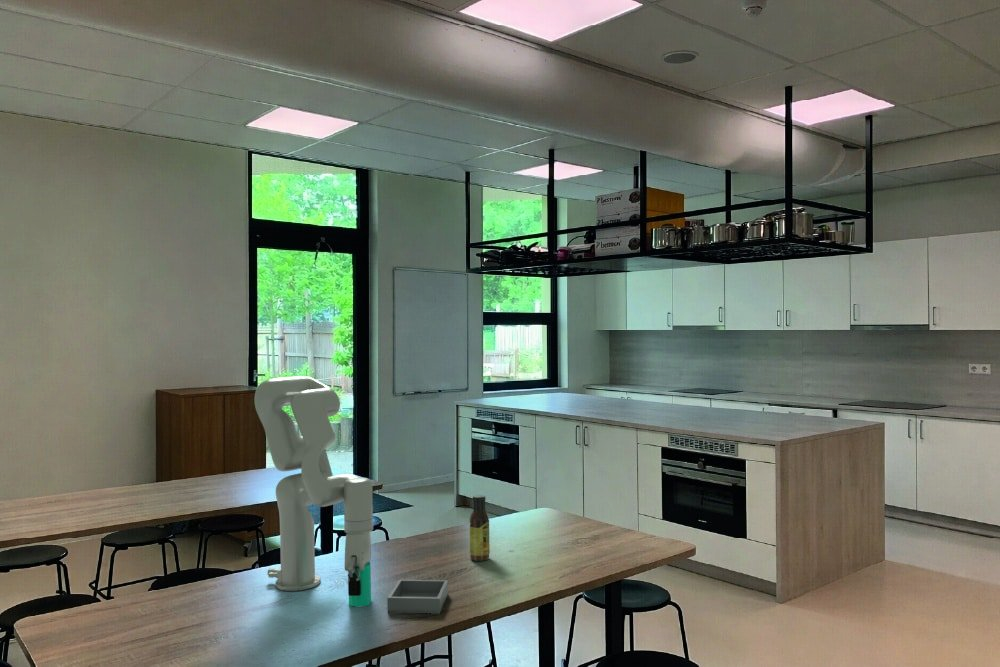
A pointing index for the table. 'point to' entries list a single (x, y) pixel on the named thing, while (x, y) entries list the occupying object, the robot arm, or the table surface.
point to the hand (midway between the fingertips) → (359, 588)
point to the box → (418, 596)
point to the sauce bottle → (479, 530)
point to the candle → (363, 588)
